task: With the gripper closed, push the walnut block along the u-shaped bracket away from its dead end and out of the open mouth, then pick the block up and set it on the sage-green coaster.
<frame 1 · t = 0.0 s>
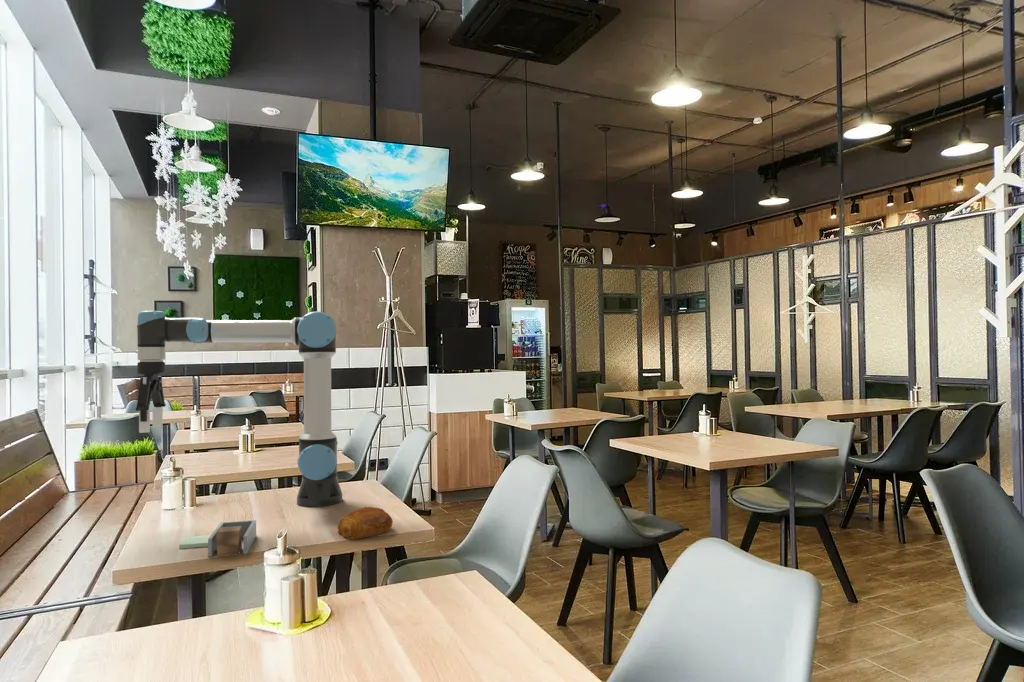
hand: (151, 430, 199), 28 cm above the table, fingers open, 13 cm apart
coaster: (199, 543, 175), on the table
block: (229, 552, 167), on the table
u-shaped bracket: (233, 546, 172), on the table
brown oval lump: (364, 533, 185), on the table
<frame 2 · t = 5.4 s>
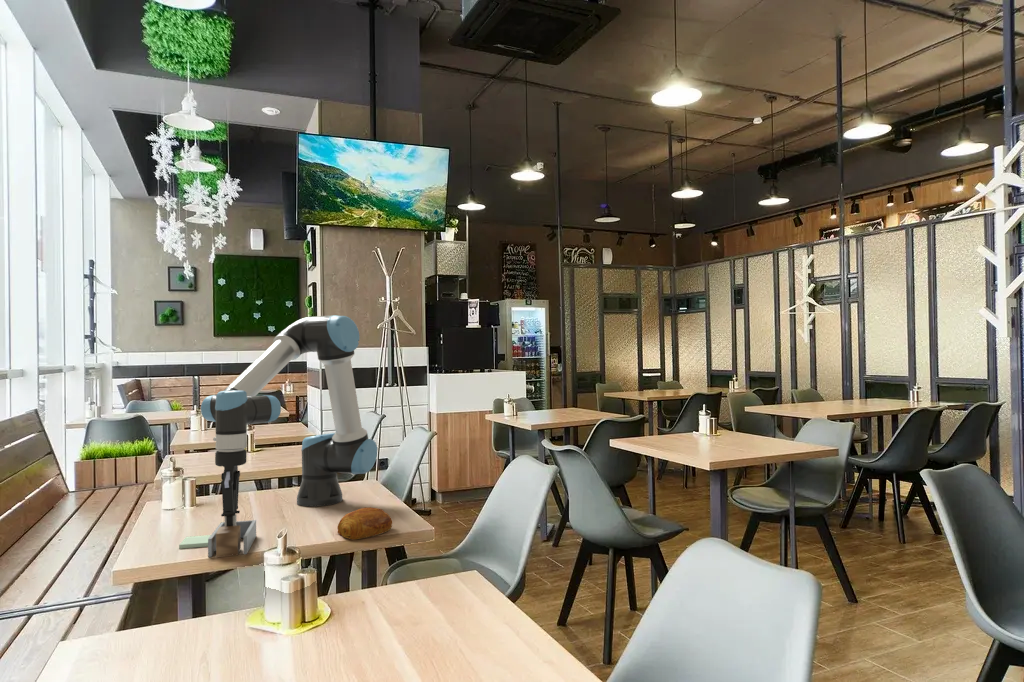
hand: (230, 540, 169), 2 cm above the table, fingers closed
block: (228, 552, 166), on the table, tilted 6°, touching gripper
everything else where it was.
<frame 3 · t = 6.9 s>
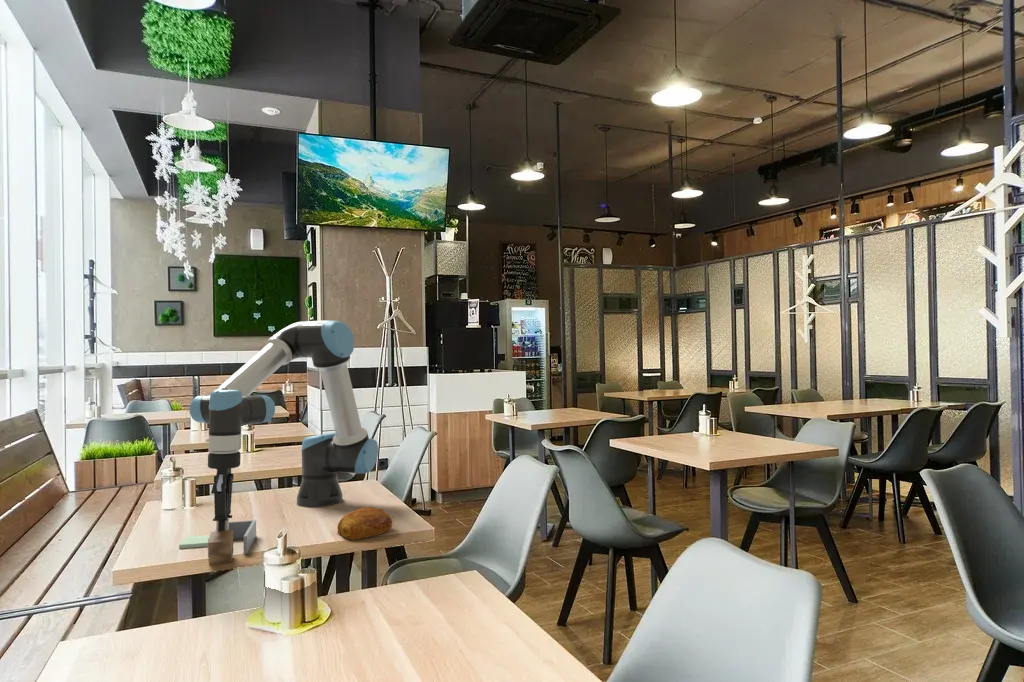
hand: (222, 545, 162), 3 cm above the table, fingers closed
block: (221, 558, 160), point 1 cm above the table, tilted 16°, touching gripper
everything else where it was.
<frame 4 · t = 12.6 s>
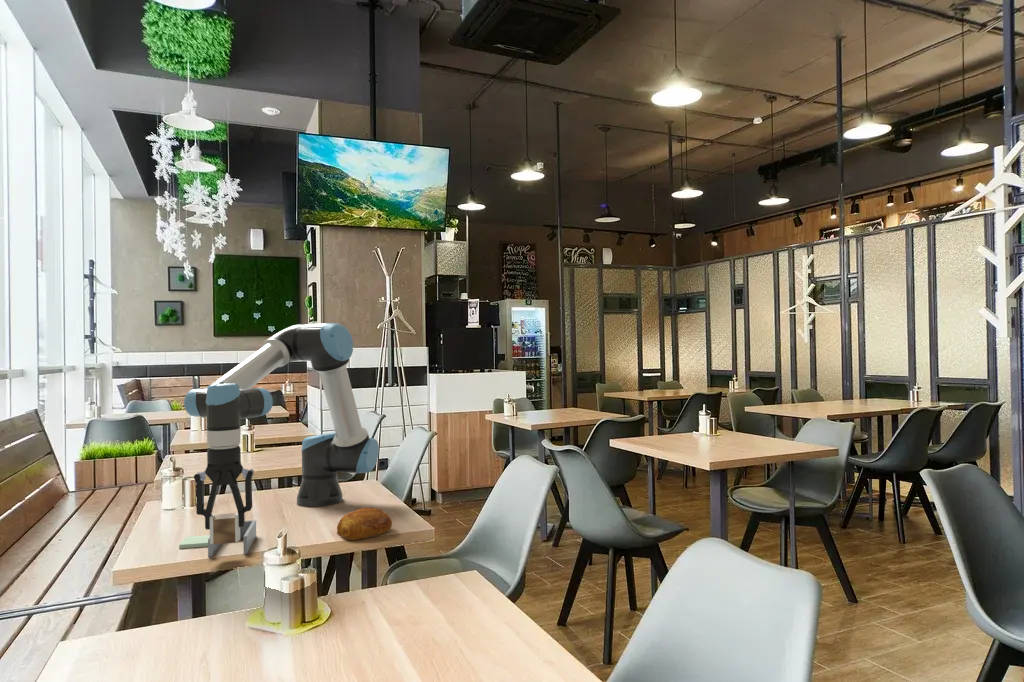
hand: (225, 540, 159), 5 cm above the table, fingers closed on block, 5 cm apart
block: (226, 540, 161), point 5 cm above the table, touching gripper
everything else where it was.
when the fingers open (1 cm above the table, at t = 16.2 s): block stays where it is, resting on coaster.
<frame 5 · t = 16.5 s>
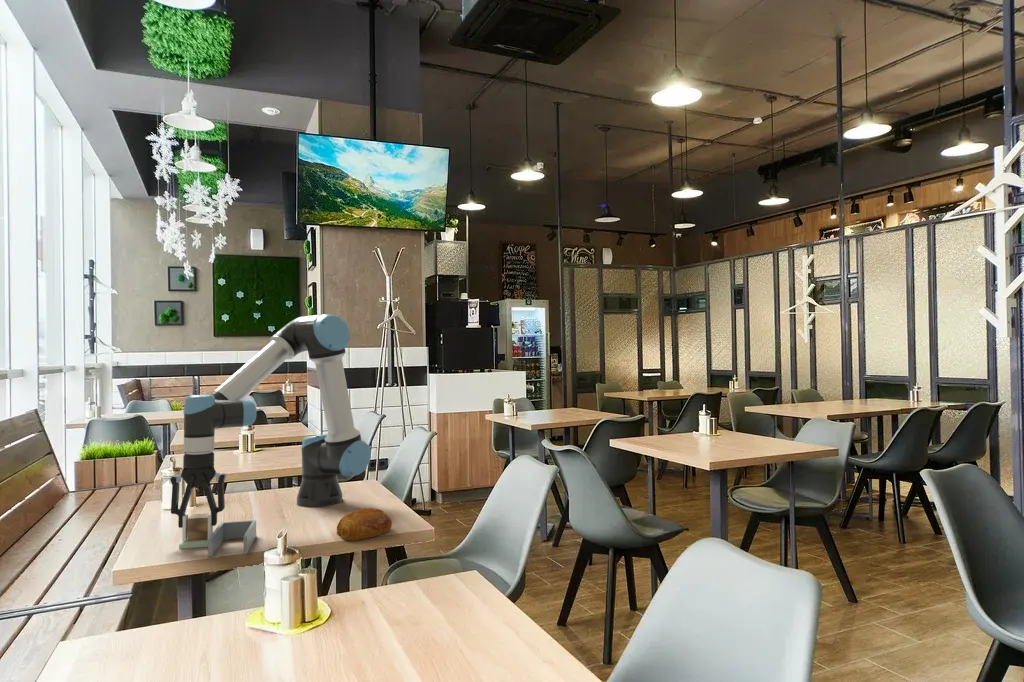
hand: (197, 538, 175), 1 cm above the table, fingers open, 5 cm apart
block: (199, 538, 176), point 1 cm above the table, touching coaster
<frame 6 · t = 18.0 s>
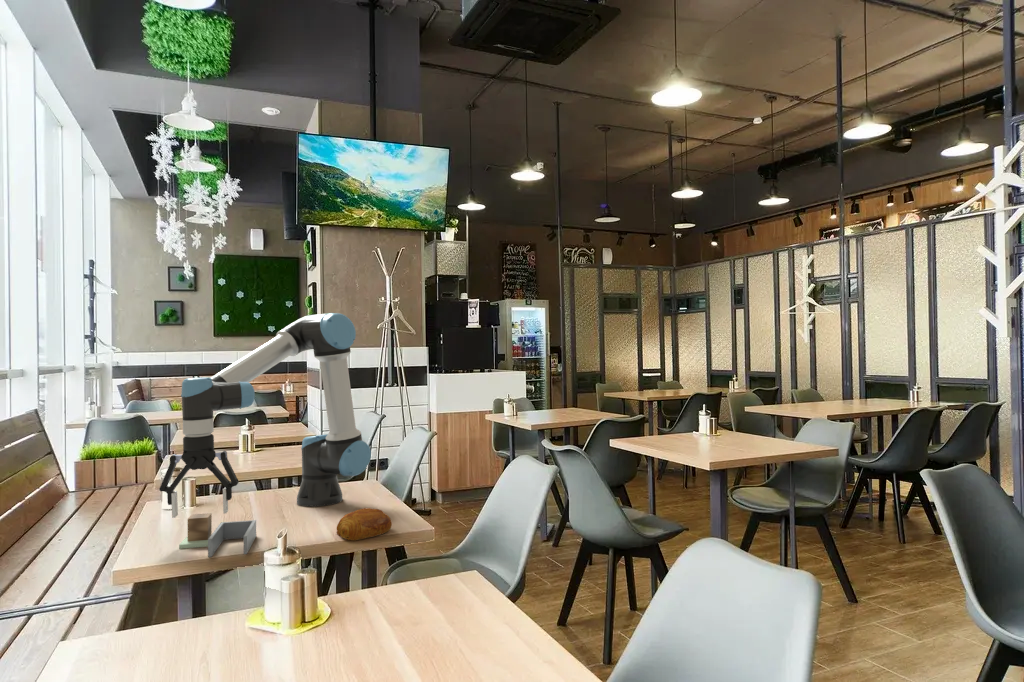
hand: (200, 514, 176), 8 cm above the table, fingers open, 12 cm apart
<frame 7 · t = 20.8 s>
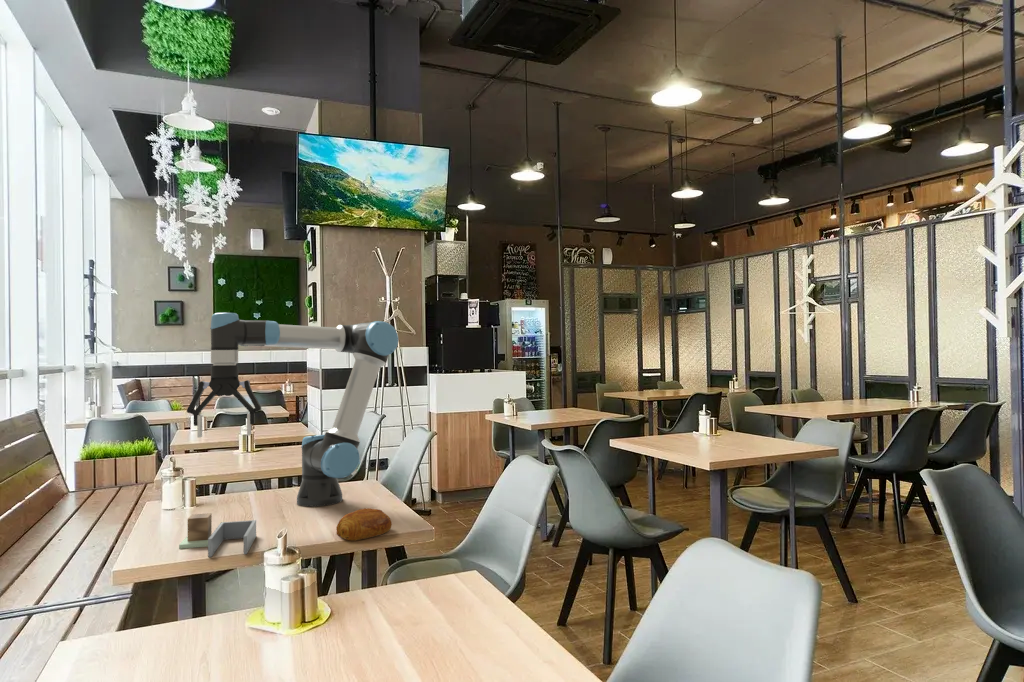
hand: (224, 436, 193), 27 cm above the table, fingers open, 13 cm apart
at the end: block inside the target area on the coaster (1.4 cm from its centre), point 1.0 cm above the coaster's base; block tilted 0°; the gripper is holding nothing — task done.
